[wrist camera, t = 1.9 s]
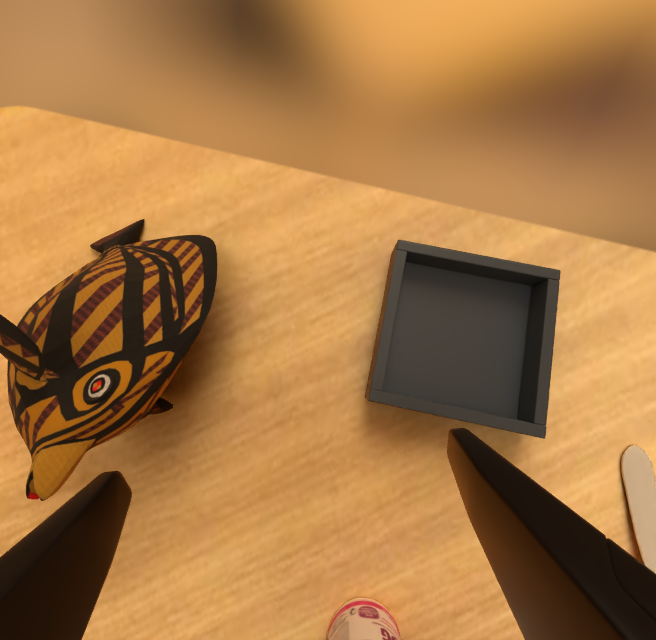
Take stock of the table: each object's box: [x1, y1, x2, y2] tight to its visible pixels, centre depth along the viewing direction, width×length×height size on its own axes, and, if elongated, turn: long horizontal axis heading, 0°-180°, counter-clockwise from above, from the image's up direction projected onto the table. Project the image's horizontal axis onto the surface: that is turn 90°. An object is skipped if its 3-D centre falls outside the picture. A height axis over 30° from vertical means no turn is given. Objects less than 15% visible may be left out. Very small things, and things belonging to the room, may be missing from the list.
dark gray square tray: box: [365, 240, 560, 439], centre depth 23 cm, size 12×12×2 cm
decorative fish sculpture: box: [0, 219, 217, 501], centre depth 19 cm, size 14×16×12 cm
